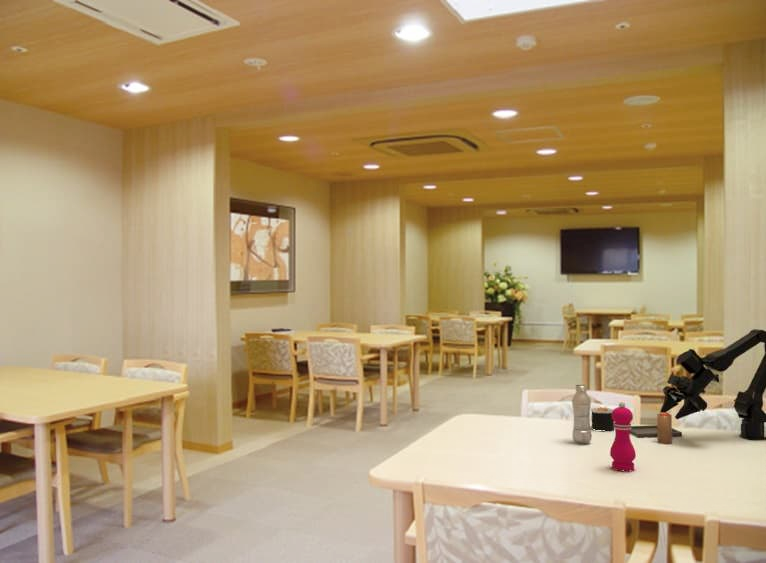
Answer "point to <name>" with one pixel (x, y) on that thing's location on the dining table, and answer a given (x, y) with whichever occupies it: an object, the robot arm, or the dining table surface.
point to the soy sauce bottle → (664, 428)
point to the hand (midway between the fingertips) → (668, 415)
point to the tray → (649, 431)
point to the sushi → (602, 419)
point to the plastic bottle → (581, 415)
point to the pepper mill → (622, 439)
